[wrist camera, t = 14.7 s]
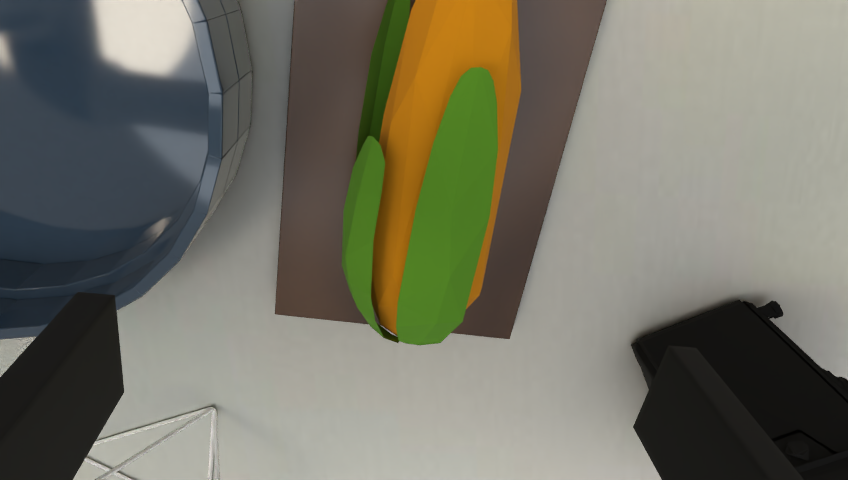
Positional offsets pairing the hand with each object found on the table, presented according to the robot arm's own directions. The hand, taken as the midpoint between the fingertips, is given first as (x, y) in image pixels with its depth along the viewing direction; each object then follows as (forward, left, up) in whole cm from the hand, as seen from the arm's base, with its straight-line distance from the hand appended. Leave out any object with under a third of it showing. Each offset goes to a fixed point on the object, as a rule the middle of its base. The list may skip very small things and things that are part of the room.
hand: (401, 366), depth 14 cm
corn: (+1, +1, -17) cm, 17 cm away
